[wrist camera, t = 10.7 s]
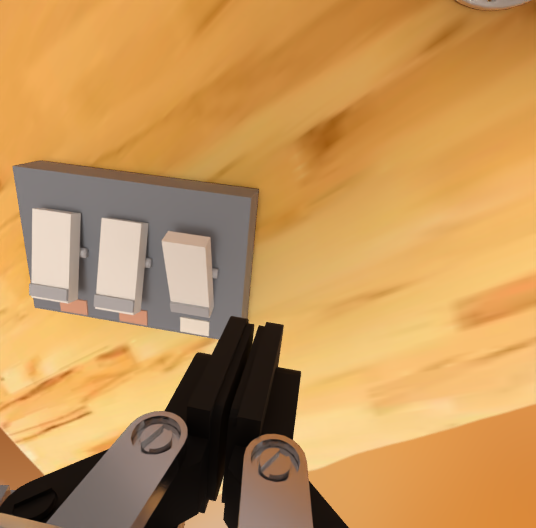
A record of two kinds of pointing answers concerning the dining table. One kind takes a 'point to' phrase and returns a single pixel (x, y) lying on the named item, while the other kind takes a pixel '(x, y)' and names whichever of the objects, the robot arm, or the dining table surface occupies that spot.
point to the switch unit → (160, 222)
